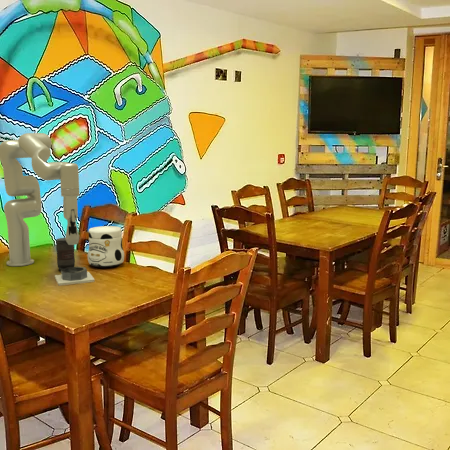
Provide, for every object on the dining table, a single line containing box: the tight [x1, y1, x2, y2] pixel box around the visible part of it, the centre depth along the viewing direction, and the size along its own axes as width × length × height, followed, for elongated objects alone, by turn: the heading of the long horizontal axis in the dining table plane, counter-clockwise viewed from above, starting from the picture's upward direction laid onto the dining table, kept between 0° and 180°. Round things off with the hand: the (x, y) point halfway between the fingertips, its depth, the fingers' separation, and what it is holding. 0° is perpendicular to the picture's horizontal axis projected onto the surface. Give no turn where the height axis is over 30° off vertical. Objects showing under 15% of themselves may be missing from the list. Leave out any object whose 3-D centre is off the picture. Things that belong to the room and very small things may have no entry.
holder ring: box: [60, 266, 88, 281], centre depth 241 cm, size 10×10×4 cm
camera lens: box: [55, 237, 76, 273], centre depth 256 cm, size 8×8×15 cm
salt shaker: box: [64, 215, 80, 246], centre depth 237 cm, size 6×6×13 cm
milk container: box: [87, 225, 125, 269], centre depth 265 cm, size 17×17×18 cm
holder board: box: [54, 271, 95, 286], centre depth 241 cm, size 14×15×1 cm
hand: (72, 234), depth 238 cm, fingers closed on salt shaker, 3 cm apart
